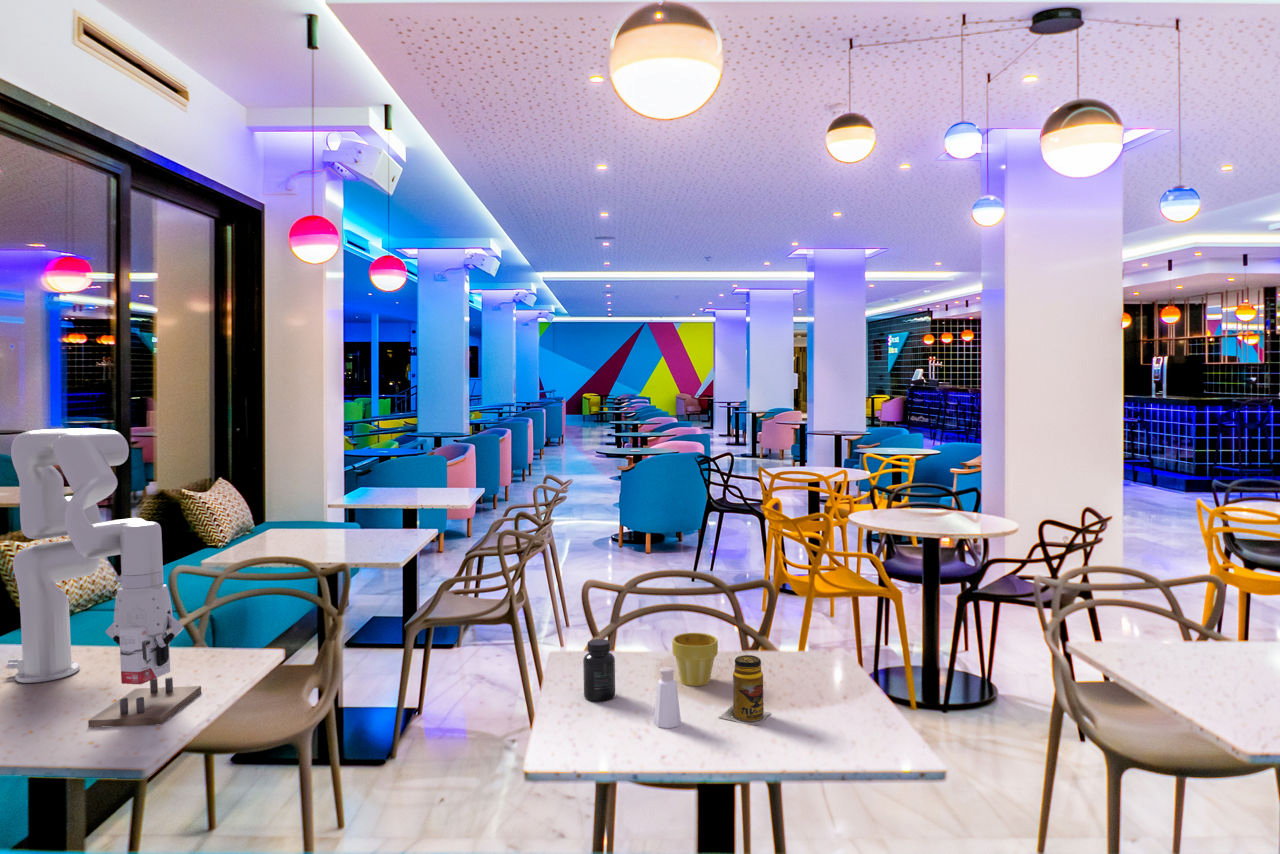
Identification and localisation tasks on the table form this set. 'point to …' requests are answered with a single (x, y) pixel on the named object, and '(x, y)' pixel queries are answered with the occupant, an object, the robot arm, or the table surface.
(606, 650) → the supplement bottle
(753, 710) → the condiment
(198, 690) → the pin dock
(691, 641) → the plant pot
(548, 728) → the table surface
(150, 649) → the ink box
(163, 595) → the robot arm
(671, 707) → the salt shaker
